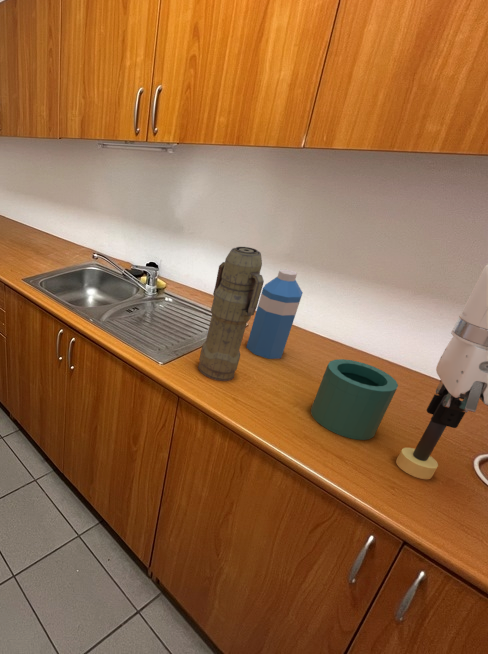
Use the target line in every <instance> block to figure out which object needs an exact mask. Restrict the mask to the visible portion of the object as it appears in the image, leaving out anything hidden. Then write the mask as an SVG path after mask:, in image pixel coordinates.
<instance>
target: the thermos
mask: <svg viewBox="0 0 488 654" xmlns="http://www.w3.org/2000/svg"><path fill="white" fill-rule="evenodd" d="M262 266H263V259H262V252H260V251H259V250H258V249H256V248H253V247H249V246H236V247H232V248H231V249H230V251H229V253H228V254H227V255H226V257H225V260H224V261H223V262H221V263H220V264H219V265H218V270H217V274H216V275H217V276H216V279H215V285H214V290H213V293H212V295H213V300H212V305H211V308H210V312H211V318H210V322H209V326H208V331H207V335H206V338H205V342H204V343H203V344H202V346H201V350H200V355H199V359H198V360H199V363H198V367H197V368H198V371H199V372H200V373H201V374H202V375H204V376H205V377H206V378H209V379H211V380H214V381H219V382H227V381H228V382H229V381H231V380H233V379H234V378H235V373H236V372H237V370H238V366H239V362H240V359H241V351H240V349H241V345H242V342H243V338H244V334H245V331H246V327H247V324H248V322H249V321H250V320H251V317H253V316H255V314H256V311H257V307H258V304H259V300H260V297H261V293H262V290H263V287H264V283H265V281H264V278H263V275H262V274H261V270H262Z"/></svg>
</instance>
